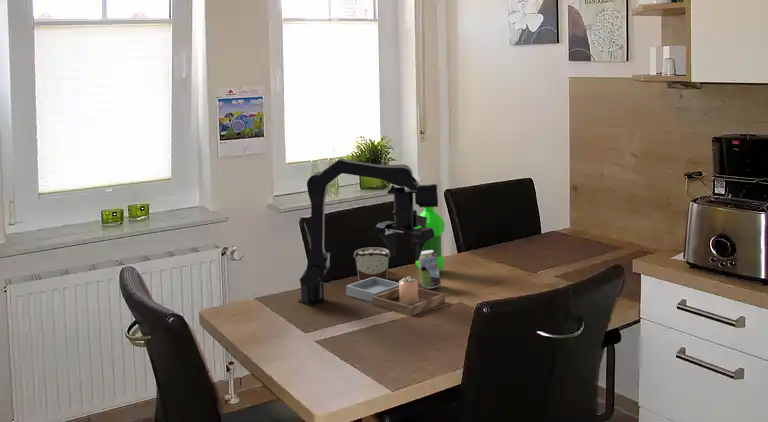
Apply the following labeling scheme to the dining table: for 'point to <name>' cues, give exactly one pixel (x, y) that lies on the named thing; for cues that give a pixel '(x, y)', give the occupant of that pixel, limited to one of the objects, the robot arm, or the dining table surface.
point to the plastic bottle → (438, 227)
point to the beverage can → (429, 269)
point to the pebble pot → (408, 291)
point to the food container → (372, 262)
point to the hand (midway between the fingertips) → (405, 258)
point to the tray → (370, 288)
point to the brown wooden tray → (385, 302)
